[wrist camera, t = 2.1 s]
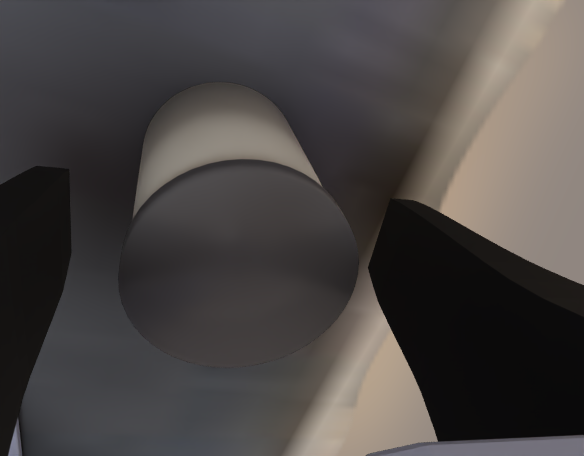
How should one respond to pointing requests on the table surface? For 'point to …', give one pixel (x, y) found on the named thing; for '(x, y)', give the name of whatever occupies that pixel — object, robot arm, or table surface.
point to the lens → (232, 234)
